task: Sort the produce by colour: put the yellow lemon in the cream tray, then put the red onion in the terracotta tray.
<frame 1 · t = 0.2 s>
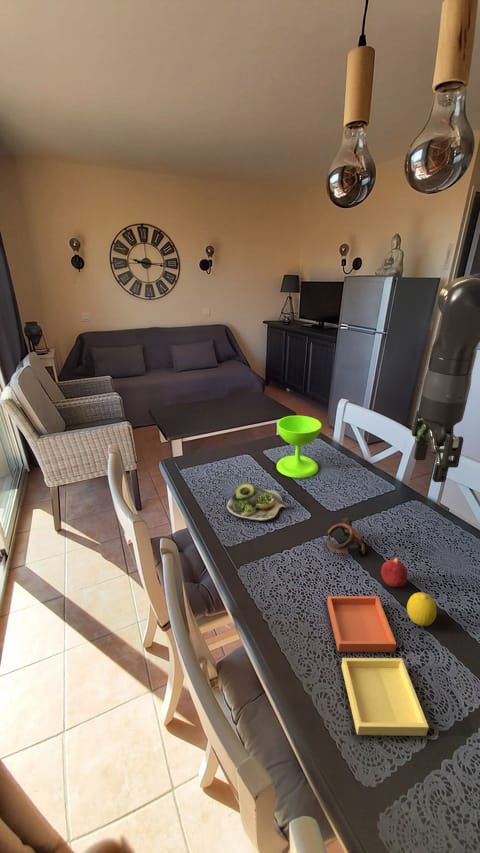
hand: (428, 469, 73), 32 cm above the table, tool pointing down, fingers open, 8 cm apart
terracotta tray: (358, 626, 77), on the table
lemon: (418, 622, 78), on the table
onion: (391, 585, 87), on the table
wineglass: (297, 467, 138), on the table
salad plate: (253, 505, 117), on the table
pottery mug: (345, 547, 99), on the table
cream tray: (380, 698, 64), on the table
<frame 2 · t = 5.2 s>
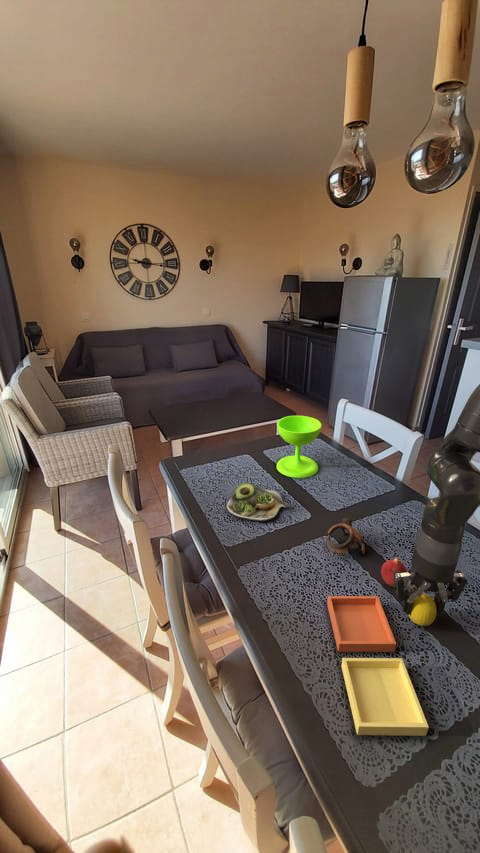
hand: (421, 610, 76), 4 cm above the table, tool pointing down, fingers closed on lemon, 5 cm apart
lemon: (418, 622, 78), on the table, touching gripper
everything else where it was.
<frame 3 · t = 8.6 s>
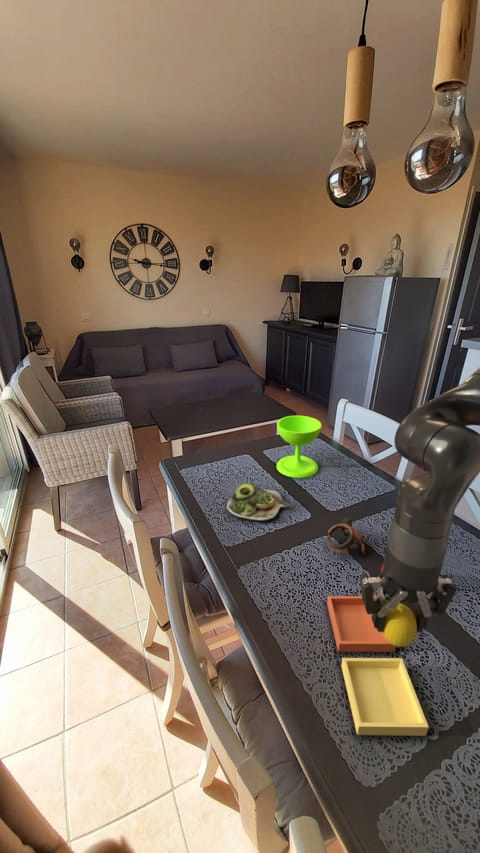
hand: (397, 626, 59), 17 cm above the table, tool pointing down, fingers closed on lemon, 5 cm apart
lemon: (394, 641, 60), point 13 cm above the table, touching gripper
everything else where it was.
when the fingers open (4 cm above the table, at t = 12.0 s): lemon stays where it is, resting on cream tray.
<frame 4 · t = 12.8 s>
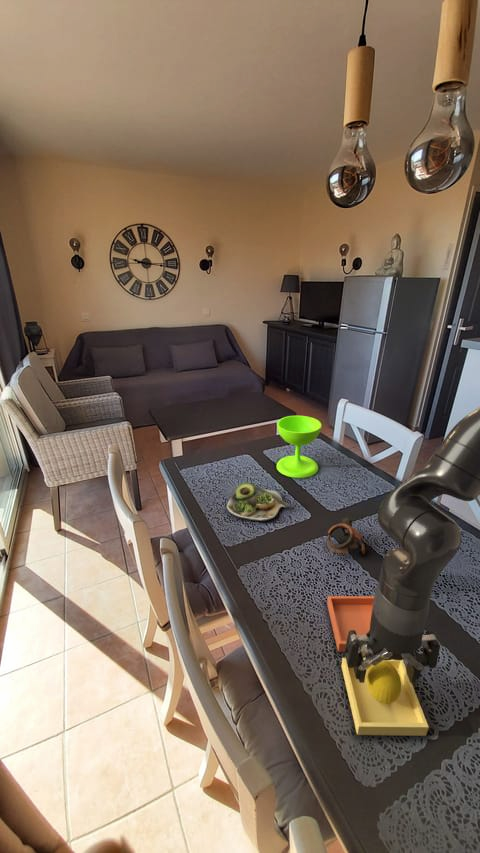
hand: (385, 677, 62), 6 cm above the table, tool pointing down, fingers open, 8 cm apart
lemon: (380, 696, 64), resting on cream tray
everything else where it was.
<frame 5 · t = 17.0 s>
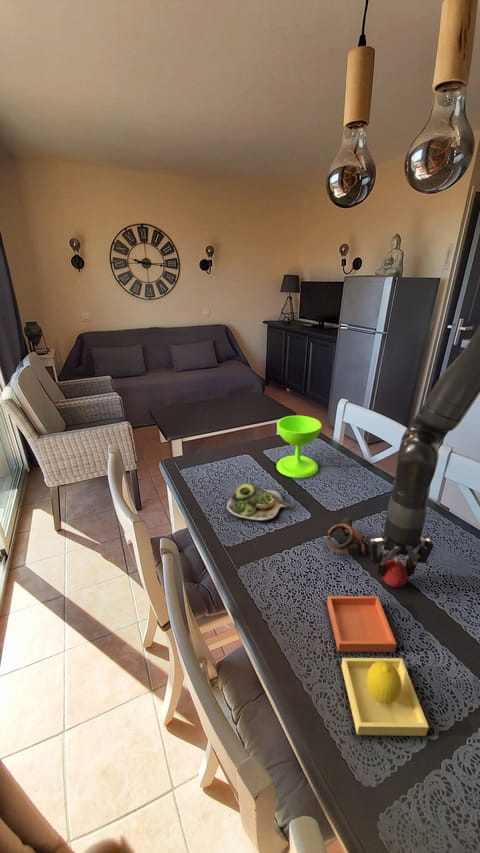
hand: (394, 573, 85), 4 cm above the table, tool pointing down, fingers closed on onion, 5 cm apart
onion: (391, 585, 87), on the table, touching gripper
everything else where it was.
when the fingers open (4 cm above the table, at t = 23.6 s): onion stays where it is, resting on terracotta tray.
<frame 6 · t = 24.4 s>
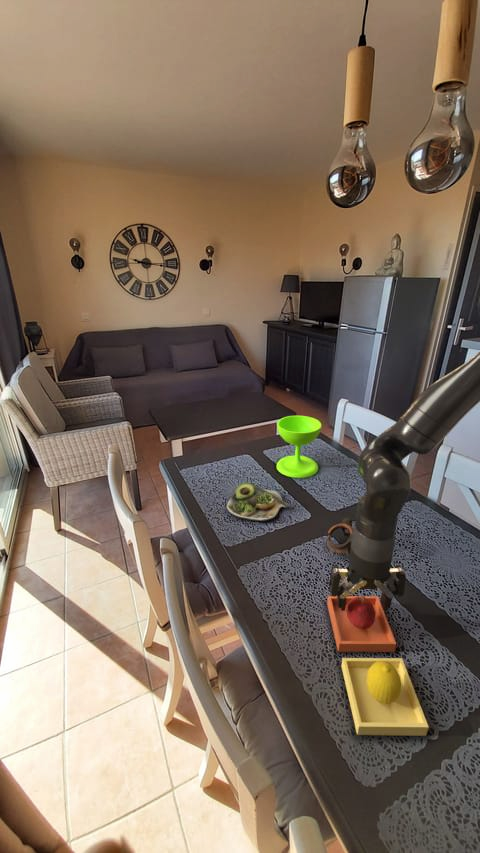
hand: (362, 607, 75), 6 cm above the table, tool pointing down, fingers open, 8 cm apart
onion: (358, 625, 77), resting on terracotta tray
everything else where it was.
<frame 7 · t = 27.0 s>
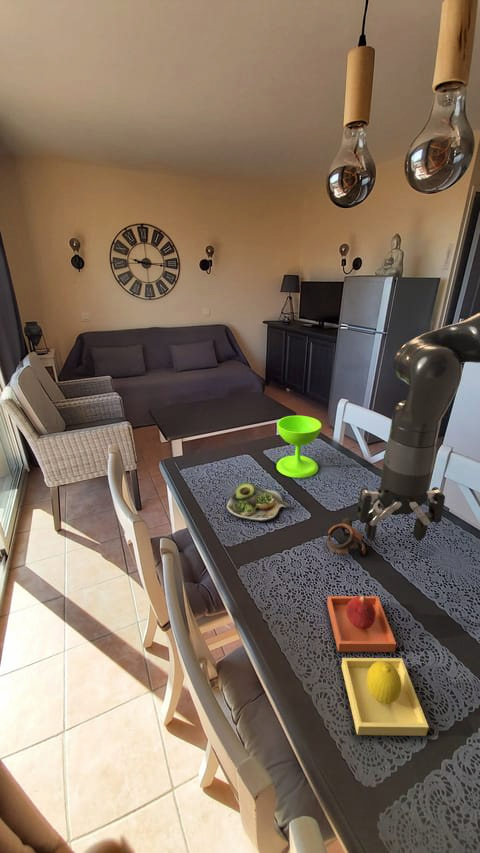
hand: (393, 538, 67), 24 cm above the table, tool pointing down, fingers open, 8 cm apart
nothing on the table moved.
at the end: lemon inside the target area in the cream tray (0.0 cm from its centre), point 0.3 cm above the cream tray's base; onion inside the target area in the terracotta tray (0.0 cm from its centre), point 0.3 cm above the terracotta tray's base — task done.
